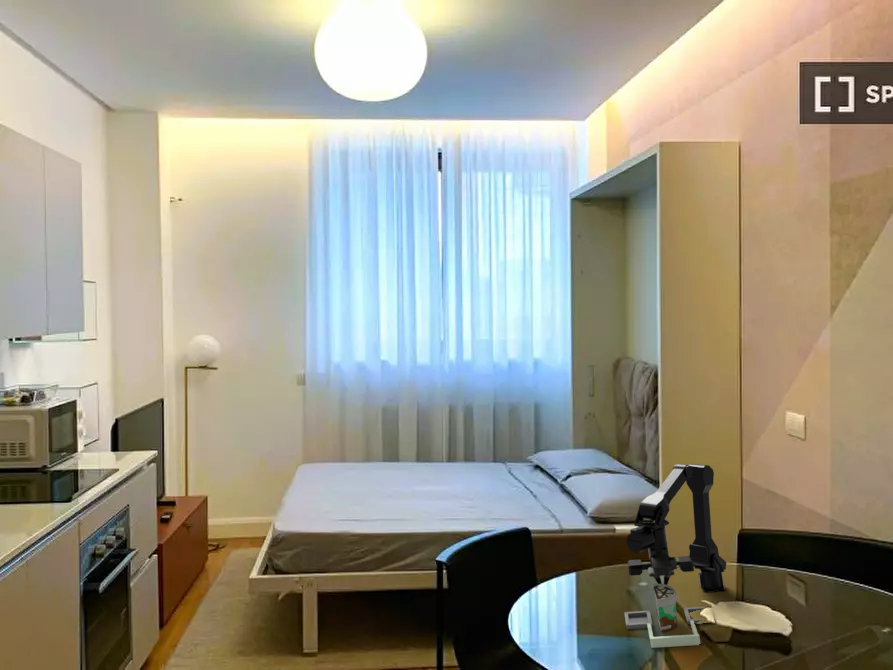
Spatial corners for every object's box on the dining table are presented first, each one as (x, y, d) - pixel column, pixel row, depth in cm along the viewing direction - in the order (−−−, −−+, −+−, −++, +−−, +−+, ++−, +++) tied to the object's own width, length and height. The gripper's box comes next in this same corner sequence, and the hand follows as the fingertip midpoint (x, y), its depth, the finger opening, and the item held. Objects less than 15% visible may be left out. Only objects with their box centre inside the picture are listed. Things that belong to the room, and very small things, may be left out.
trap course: (710, 610, 223) (709, 602, 223) (723, 643, 202) (722, 634, 202) (624, 616, 228) (623, 608, 228) (629, 649, 206) (627, 640, 206)
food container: (684, 633, 211) (679, 598, 211) (662, 634, 212) (657, 600, 212) (678, 614, 223) (673, 581, 223) (656, 615, 224) (652, 583, 224)
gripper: (626, 554, 218) (633, 606, 219) (693, 549, 214) (700, 602, 215) (624, 541, 229) (631, 591, 230) (688, 536, 225) (694, 587, 226)
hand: (664, 593), depth 225 cm, fingers closed
